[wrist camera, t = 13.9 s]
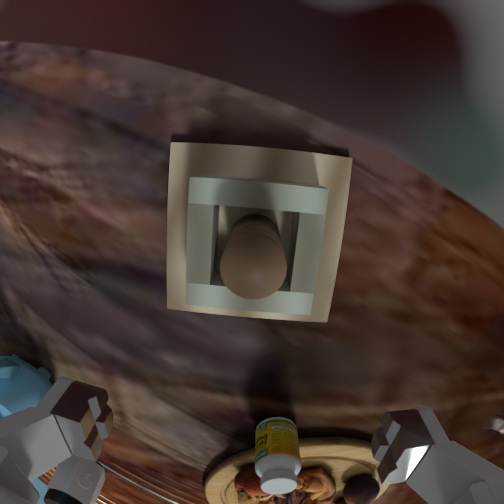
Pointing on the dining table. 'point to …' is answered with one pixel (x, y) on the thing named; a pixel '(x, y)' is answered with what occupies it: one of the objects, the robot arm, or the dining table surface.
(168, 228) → the socket board
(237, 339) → the dining table surface
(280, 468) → the supplement bottle
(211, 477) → the wooden plate with food
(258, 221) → the peg
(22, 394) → the teapot
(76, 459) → the jar
